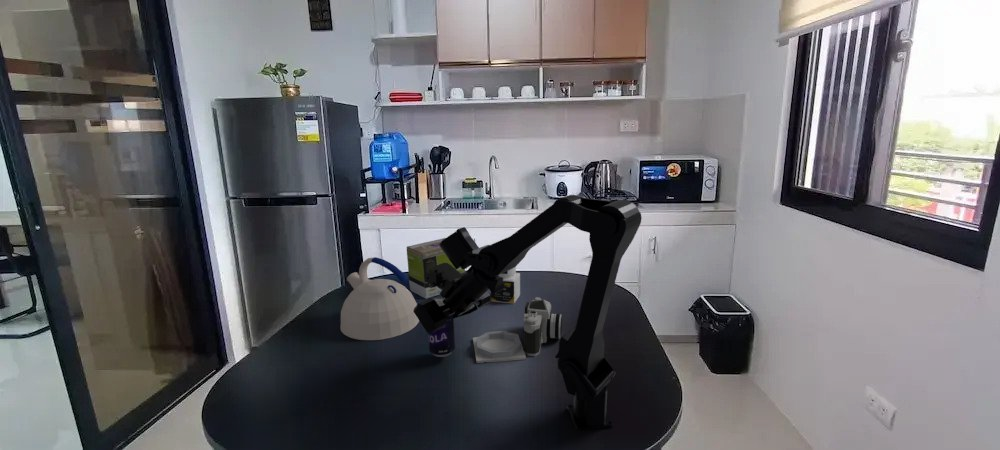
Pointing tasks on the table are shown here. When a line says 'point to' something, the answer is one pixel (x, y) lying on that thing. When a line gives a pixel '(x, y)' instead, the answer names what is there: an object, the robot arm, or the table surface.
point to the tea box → (425, 266)
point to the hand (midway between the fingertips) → (436, 323)
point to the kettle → (377, 305)
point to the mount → (498, 347)
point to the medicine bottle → (508, 288)
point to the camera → (539, 325)
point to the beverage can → (442, 337)
